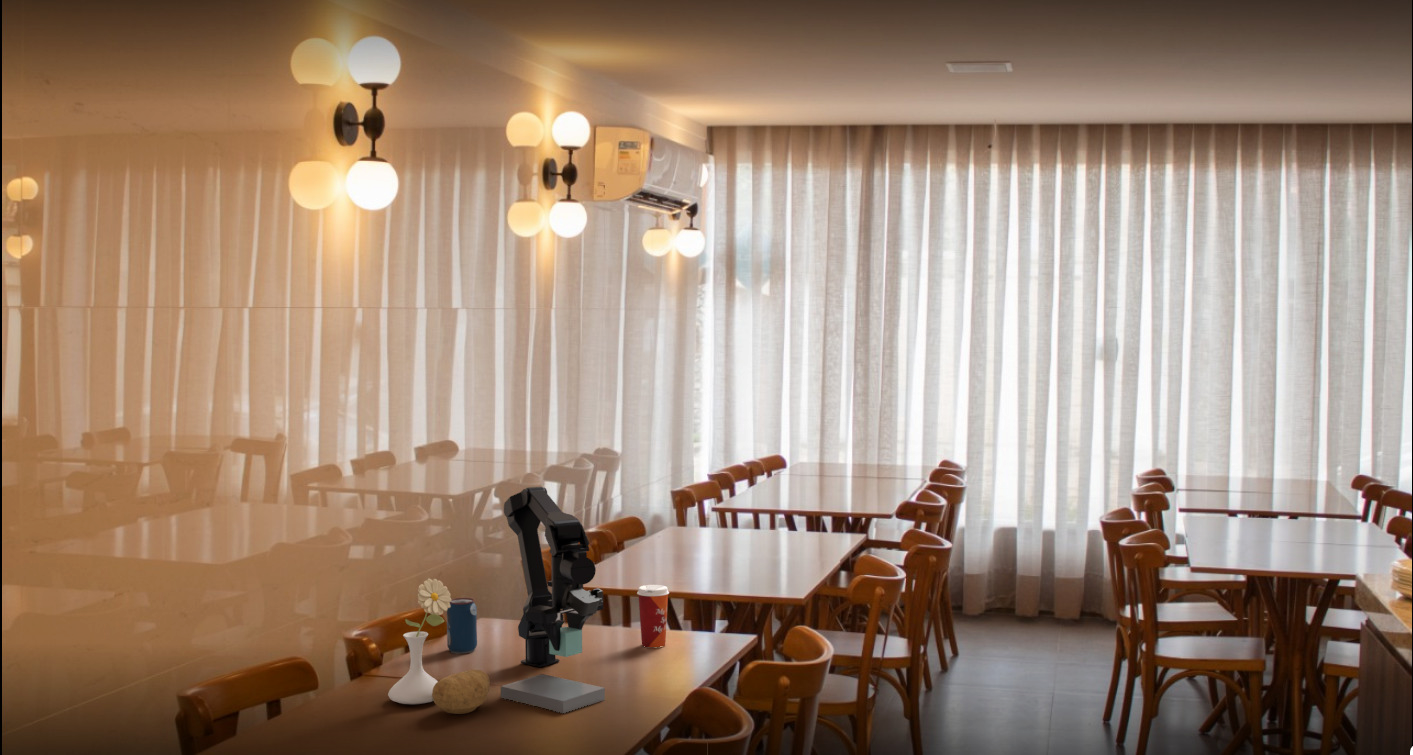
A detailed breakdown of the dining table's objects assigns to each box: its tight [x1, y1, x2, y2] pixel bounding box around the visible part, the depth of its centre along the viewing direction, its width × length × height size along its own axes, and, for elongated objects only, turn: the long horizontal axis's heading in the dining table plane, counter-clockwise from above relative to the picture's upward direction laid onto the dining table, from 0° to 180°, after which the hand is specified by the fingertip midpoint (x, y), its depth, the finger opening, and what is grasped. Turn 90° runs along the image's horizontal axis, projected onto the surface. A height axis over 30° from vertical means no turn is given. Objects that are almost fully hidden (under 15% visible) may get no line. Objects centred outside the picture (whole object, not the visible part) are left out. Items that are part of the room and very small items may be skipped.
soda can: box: [446, 597, 478, 655], centre depth 312 cm, size 7×7×12 cm
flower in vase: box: [387, 578, 452, 705], centre depth 270 cm, size 13×11×25 cm
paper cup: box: [636, 584, 670, 648], centre depth 316 cm, size 8×8×14 cm
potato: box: [432, 668, 491, 715], centre depth 263 cm, size 10×14×8 cm
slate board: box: [500, 673, 606, 714], centre depth 271 cm, size 18×12×2 cm, turn 52°
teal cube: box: [549, 626, 583, 658], centre depth 286 cm, size 5×5×5 cm
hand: (565, 648), depth 286 cm, fingers closed on teal cube, 5 cm apart
